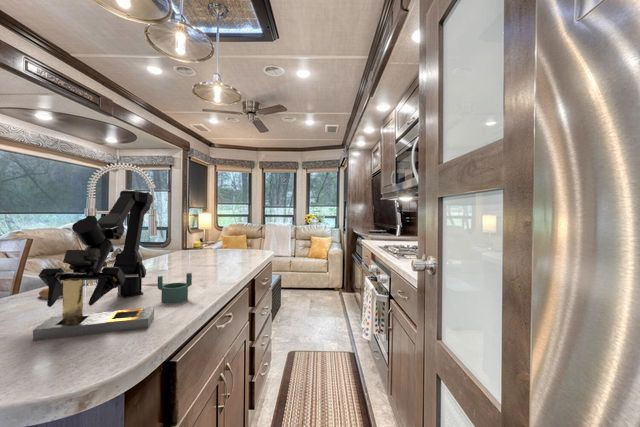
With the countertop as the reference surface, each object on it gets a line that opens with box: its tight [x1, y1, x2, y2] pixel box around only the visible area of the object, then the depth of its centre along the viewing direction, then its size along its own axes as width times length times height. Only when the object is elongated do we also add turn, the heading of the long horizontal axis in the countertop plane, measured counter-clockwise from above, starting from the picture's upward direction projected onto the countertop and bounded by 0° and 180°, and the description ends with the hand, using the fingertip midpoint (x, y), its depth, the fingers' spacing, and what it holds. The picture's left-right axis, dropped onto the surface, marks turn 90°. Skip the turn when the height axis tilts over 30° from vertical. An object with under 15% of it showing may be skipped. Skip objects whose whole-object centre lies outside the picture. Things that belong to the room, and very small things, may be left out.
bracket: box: [157, 272, 193, 305], centre depth 103 cm, size 9×9×9 cm
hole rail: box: [32, 307, 155, 341], centre depth 78 cm, size 24×9×3 cm, turn 111°
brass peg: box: [62, 278, 84, 325], centre depth 76 cm, size 4×4×13 cm
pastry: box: [38, 287, 63, 300], centre depth 105 cm, size 9×7×4 cm
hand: (69, 305), depth 75 cm, fingers open, 9 cm apart
